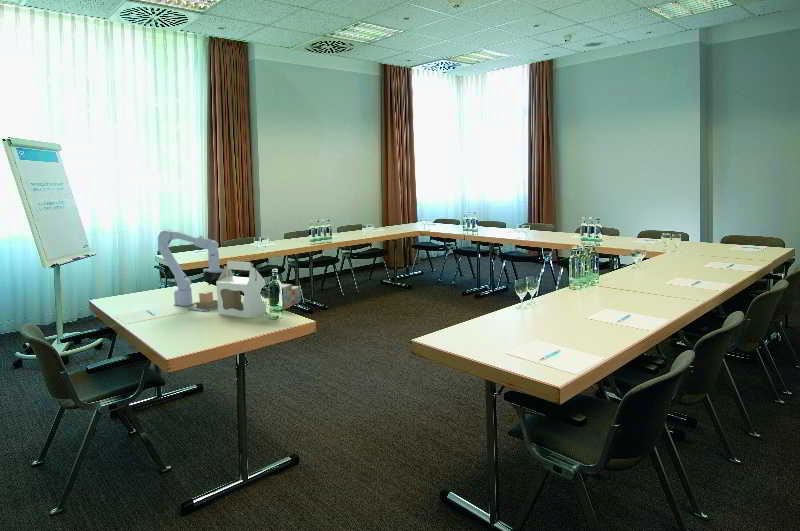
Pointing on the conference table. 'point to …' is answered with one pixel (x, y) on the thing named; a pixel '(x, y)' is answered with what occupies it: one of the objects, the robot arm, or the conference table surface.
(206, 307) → the plate
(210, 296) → the terracotta cube
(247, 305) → the gable box
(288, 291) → the white printed box
